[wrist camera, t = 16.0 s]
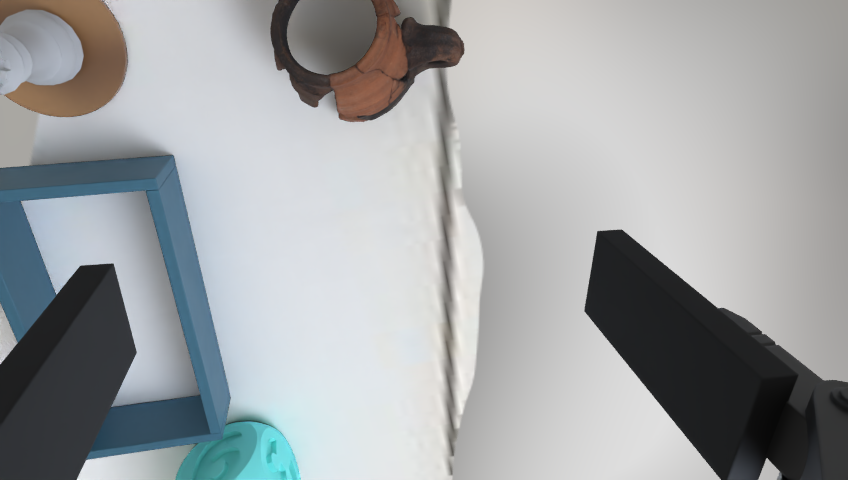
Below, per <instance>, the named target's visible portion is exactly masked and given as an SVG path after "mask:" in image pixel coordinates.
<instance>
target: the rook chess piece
mask: <svg viewBox="0 0 848 480" xmlns="http://www.w3.org/2000/svg"><path fill="white" fill-rule="evenodd" d="M83 57H84V55H83V50H82V46H81V41H80V40H79V38H78V37H77V35H76V33H75V32H74V30H73V29H72V27H71V26H69V25H68V24H67V23H66V22H64V21H63V20H62V19H61V18H60V17H58V16H56V15H53V14H51V13H48V12H46V11H43V10H24V11H22V12H18V13H16V14H13V15H11V16H8V17H6V19H5V20H4V21H3V22H2V24H1V25H0V95H5V94H7V93H10V92H12V91H15V90H16V89H17V88H18V86H19V85H20V84H21V83H23V82H25V81H27V82H30V83H33V84H36V85H56V84H61V83H64V82H66V81H68V80H71V79H73V78H74V76H75V75H76V74H77V73H78V72H79V71H80V69H81V66H82V61H83Z"/></svg>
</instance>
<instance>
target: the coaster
mask: <svg viewBox="0 0 848 480" xmlns="http://www.w3.org/2000/svg"><path fill="white" fill-rule="evenodd" d="M24 10H43V11H46V12H48V13H51V14H53V15H56V16H58V17H60V18H61V19H62V20H63V21H64V22H66V23H67V24H68V25H69V26H71V27H72V29H73V30H74V32H75V33H76V35H77V37H78V38H79V40H80V41H81V46H82V50H83V55H84V57H83V61H82V66H81V69H80V71H79V72H78V73H77V74H76V75H75V76H74V78H73V79H71V80H68V81H66V82H64V83H61V84H56V85H36V84H33V83H30V82H27V81H25V82H23V83H21V84H20V85H19V86H18V88H17V89H16V90H15V91H12V92H10V93H7V94H5V96H6V97H7V98H9V99H10V100H12V101H14V102H15V103H17V104H19V105H20V106H23V107H25V108H27V109H29V110H32V111H35V112H38V113H41V114H45V115H49V116H57V117H73V116H80V115H84V114H88V113H91V112H93V111H95V110H97V109H99V108H101V107H102V106H104V105H105V104H107V103H108V102H109V101H110V100H111V99H112V98H113V97H114V96H115V95H116V94H117V92H118V91H119V89H120V88H121V86H122V84H123V81H124V79H125V75H126V71H127V62H128V59H127V48H126V43H125V39H124V36H123V33H122V31H121V29H120V26H119V24H118V22H117V20H116V19H115V17H114V15H113V14H112V12H111V11H110V10H109V8H108V7H107V6H106V5H105V4H104V2H103V1H102V0H0V25H1V24H2V22H3V21H4V20H5V19H6V17H8V16H11V15H13V14H16V13H18V12H22V11H24Z"/></svg>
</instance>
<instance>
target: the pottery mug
mask: <svg viewBox="0 0 848 480" xmlns="http://www.w3.org/2000/svg"><path fill="white" fill-rule="evenodd" d="M298 1H299V0H279V2H278V4H277V5H276V7H275V10H274V12H273V14H272V22H271V41H272V45H273V47H274V54H275V62H276V66H277V70H282V69H286V70H287V72H288V73H289V76H290V81H291V83H292V86H293V88H294V89H295V90H296V91H297V92H298V94H299V97H300V99H301V100H302V101H303V102H304V103H306V104H308V105H310V106H312V107H317V106H318V101H319V100H320V99H322V97H323V96H324V95H326V94H328V93H329V92H331V91H332V90H333V91H334V92H335V99H336V105H337V111H338V113H339V118H340V119H341V120H345V121H349V122H364V121H367V120H373V119H376V118H378V117H380V116H381V115H383V114H385V113H387V112H388V111H390V110H391V109H392V108H393V107H394V106H396V105H397V103H398V102H399V101H400V100H401V99H402V97H403V96H404V94H405V93H406V92H407V91H408V89H409V88H410V86H411V85H412V84H413V83H414V78H415V76H416V75H417V74H419V73H420V72H422V71H424V70H426V69H429V68H446V67H452V66H455V65H457V64H458V63H459V61H460V58H461V57H462V55H463V54H464V43H463V41H462V40H461V38H460V37H459V35H458V34H457V32H456V31H454V30H453V29H450V28H447V27H441V26H435V25H421V24H419V23H417V22H416V21H415V19H414V18H412V17H410V18H406V19H404V20H403V22H402V25H401V29H400V27H399V25H398V24H397V22H396V20H395V17H396V16H398V15H399V14H400V10H399V8H398V6H397V5H396V3H395V2H394V1H393V0H371V1H372V3H373V5H374V8H375V13H376V16H377V28H376V33H375V37H374V40H373V42H372V44H371V46H370V48H369V50H368V51H367V53H366V54H365V55H364V56H363V58H362V59H361V60H360V61H358V62H357V63H356V64H355V65H354V66H352V67H350V68H348V69H347V70H344V71H342V72H338V73H333V74H329V75H324V74H317V73H313V72H311V71H308V70H307V69H305V68H304V67H302V66H301V65H300V64H299V63H297V61H296V60H295V59H294V58H293V56H292V55H291V52H290V50H289V46H288V43H287V25H288V21H289V18H290V15H291V13H292V11H293V9H294V8H295V6H296V4H297V3H298ZM404 75H405V77H404ZM402 77H404V78H402ZM401 78H402V79H401Z"/></svg>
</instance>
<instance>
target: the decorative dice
mask: <svg viewBox="0 0 848 480" xmlns="http://www.w3.org/2000/svg"><path fill="white" fill-rule="evenodd" d="M175 480H301V478H300V473H299V469H298V465H297V462H296V459H295V456H294V454H293V452H292V449H291V447H290V446H289V444H288V442H287V440H286V439H285V437H284V436H283V435H282V434H281V433H280V432H279V431H278V430H277V429H275V428H273V427H271V426H269V425H266V424H262V423H258V422H236V423H231V424H228V425H225V429H224V434H223V439H222V440H215V441H208V442H202V443H198V444H197V445H196V446H195V447H194V448H193V449H192V450H191V451H190V453H189V454H188V455H187V457H186V458H185V459H184V461H183V463H182V464H181V466H180V468H179V470H178V473H177V476H176V479H175Z"/></svg>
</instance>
